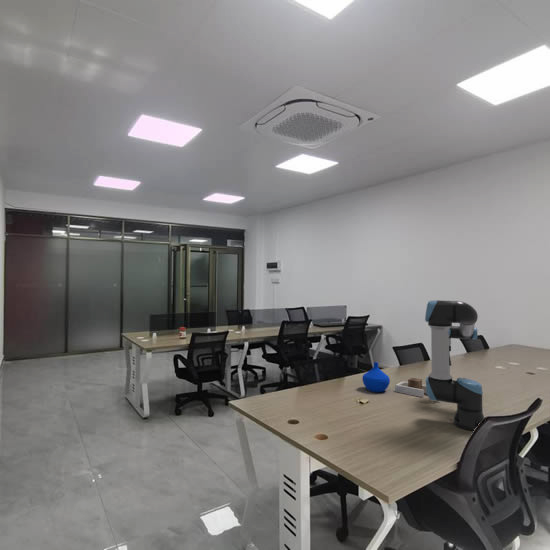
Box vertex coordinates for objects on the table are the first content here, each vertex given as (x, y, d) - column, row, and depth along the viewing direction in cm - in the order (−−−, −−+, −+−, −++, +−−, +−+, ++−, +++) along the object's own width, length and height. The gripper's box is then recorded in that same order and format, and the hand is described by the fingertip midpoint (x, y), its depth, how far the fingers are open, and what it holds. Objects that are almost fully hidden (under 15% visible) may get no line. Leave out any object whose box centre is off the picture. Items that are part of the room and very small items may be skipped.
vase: (380, 395, 235) (380, 366, 235) (357, 389, 248) (357, 362, 249) (394, 390, 247) (394, 363, 247) (372, 385, 260) (372, 358, 261)
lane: (429, 392, 243) (429, 386, 243) (423, 397, 233) (423, 390, 233) (402, 387, 255) (402, 381, 255) (395, 391, 245) (395, 385, 245)
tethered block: (450, 398, 231) (449, 382, 232) (446, 400, 226) (446, 384, 226) (411, 390, 247) (411, 376, 248) (408, 392, 242) (408, 378, 242)
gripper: (443, 341, 243) (444, 372, 243) (432, 346, 224) (432, 380, 224) (455, 342, 238) (456, 374, 238) (445, 347, 219) (445, 382, 219)
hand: (444, 377), depth 231 cm, fingers open, 13 cm apart
